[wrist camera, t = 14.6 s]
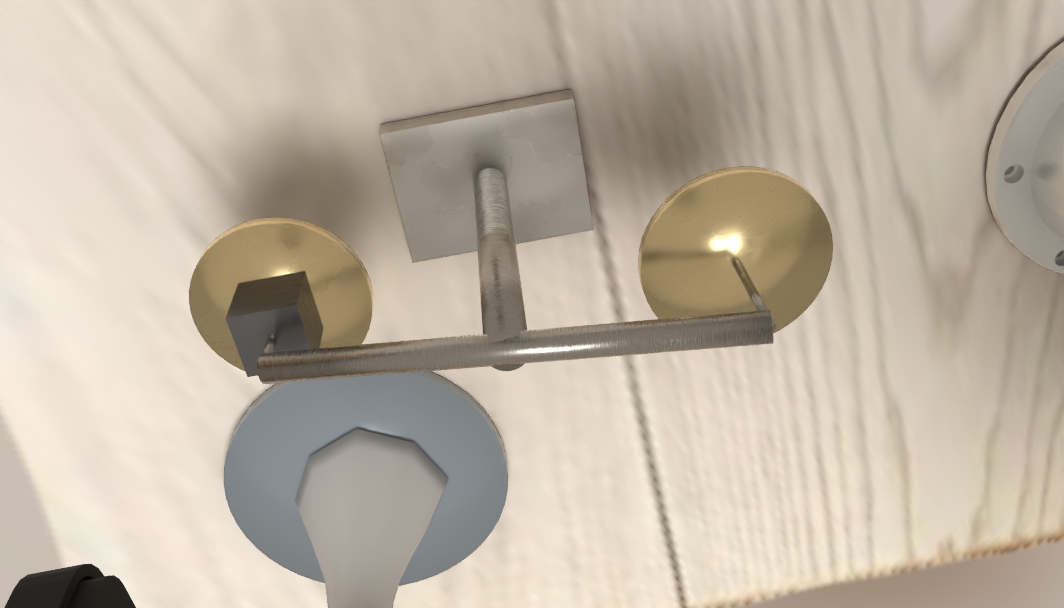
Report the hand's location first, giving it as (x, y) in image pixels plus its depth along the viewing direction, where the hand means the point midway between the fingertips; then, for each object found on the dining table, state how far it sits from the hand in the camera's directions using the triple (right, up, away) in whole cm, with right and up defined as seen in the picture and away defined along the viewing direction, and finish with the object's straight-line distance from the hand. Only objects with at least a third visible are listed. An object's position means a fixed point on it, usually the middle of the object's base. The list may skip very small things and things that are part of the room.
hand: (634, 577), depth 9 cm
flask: (-9, -6, +41) cm, 42 cm away
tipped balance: (-3, +8, +34) cm, 35 cm away
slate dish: (-9, -6, +41) cm, 43 cm away
